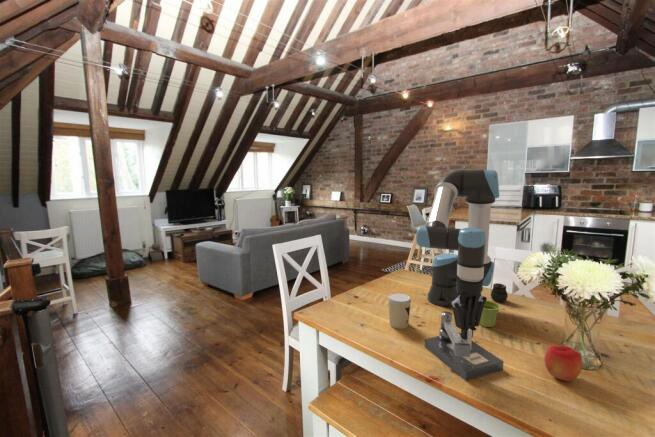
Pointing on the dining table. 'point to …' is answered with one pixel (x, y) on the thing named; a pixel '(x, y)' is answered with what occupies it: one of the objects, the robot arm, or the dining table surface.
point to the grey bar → (454, 335)
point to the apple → (563, 362)
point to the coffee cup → (399, 310)
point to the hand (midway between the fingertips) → (466, 347)
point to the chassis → (464, 366)
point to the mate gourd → (499, 292)
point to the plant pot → (489, 314)
